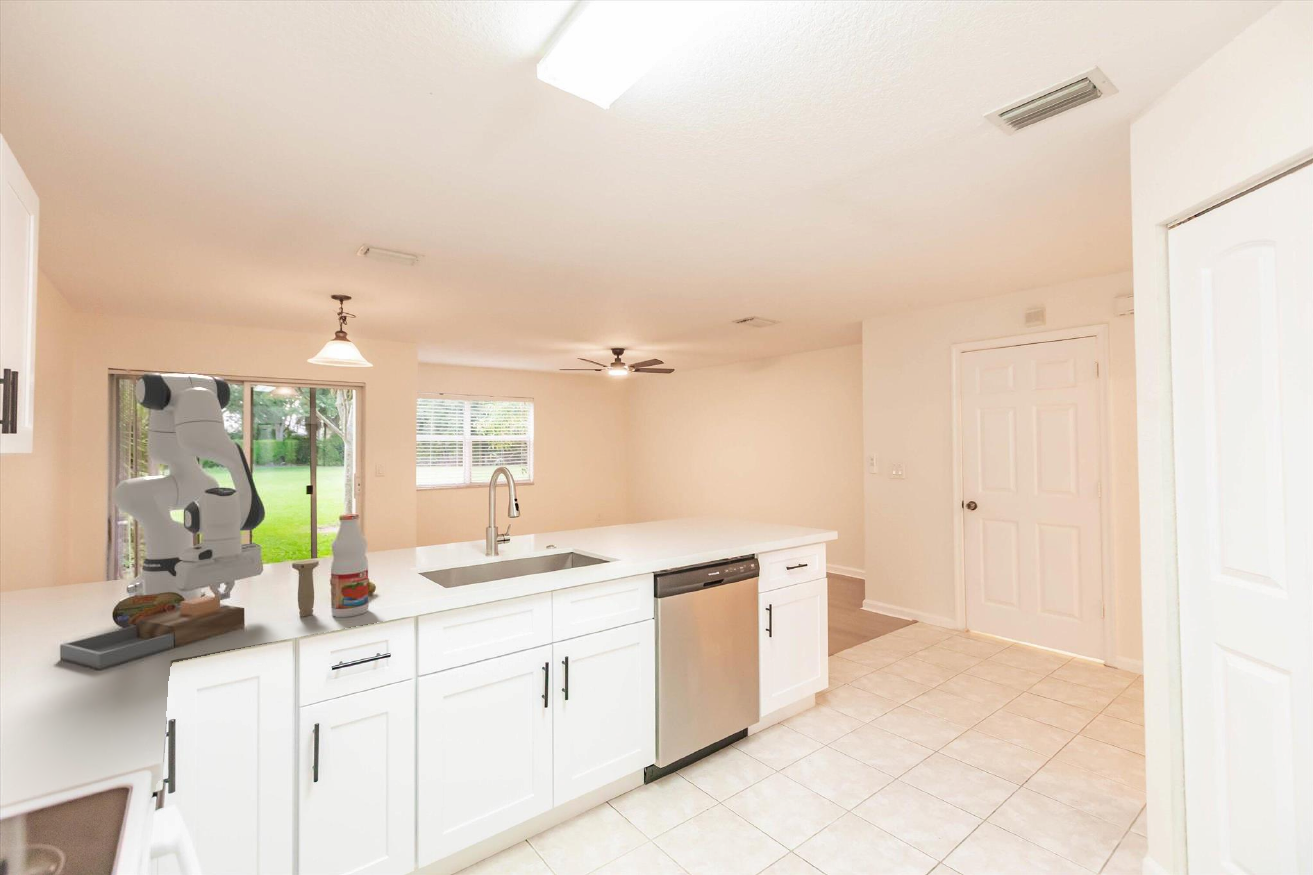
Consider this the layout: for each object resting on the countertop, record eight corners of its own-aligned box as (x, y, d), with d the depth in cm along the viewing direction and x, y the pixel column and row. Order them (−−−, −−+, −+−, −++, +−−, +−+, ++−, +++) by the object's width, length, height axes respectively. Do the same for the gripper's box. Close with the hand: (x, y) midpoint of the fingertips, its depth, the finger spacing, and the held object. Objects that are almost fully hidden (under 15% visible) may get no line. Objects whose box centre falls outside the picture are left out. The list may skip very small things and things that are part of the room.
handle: (315, 616, 161) (315, 563, 161) (290, 618, 160) (289, 564, 160) (321, 611, 166) (321, 559, 166) (296, 613, 165) (296, 560, 164)
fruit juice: (352, 606, 171) (351, 512, 171) (376, 609, 167) (374, 513, 167) (323, 615, 162) (322, 516, 162) (348, 619, 159) (346, 517, 158)
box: (60, 659, 131) (60, 644, 131) (135, 639, 144) (134, 625, 144) (99, 670, 125) (99, 654, 125) (173, 648, 138) (173, 633, 138)
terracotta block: (180, 613, 149) (180, 601, 149) (205, 606, 155) (205, 595, 155) (194, 615, 147) (194, 604, 147) (220, 609, 152) (220, 597, 152)
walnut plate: (136, 639, 144) (136, 619, 144) (206, 619, 159) (206, 601, 159) (175, 647, 138) (174, 626, 138) (244, 626, 153) (244, 607, 153)
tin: (112, 631, 151) (111, 599, 151) (116, 627, 154) (116, 596, 154) (184, 622, 158) (184, 591, 158) (187, 618, 161) (187, 588, 161)
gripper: (253, 540, 166) (253, 588, 166) (171, 554, 147) (172, 608, 147) (268, 542, 164) (268, 590, 164) (187, 556, 145) (187, 611, 145)
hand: (222, 599), depth 156 cm, fingers closed
